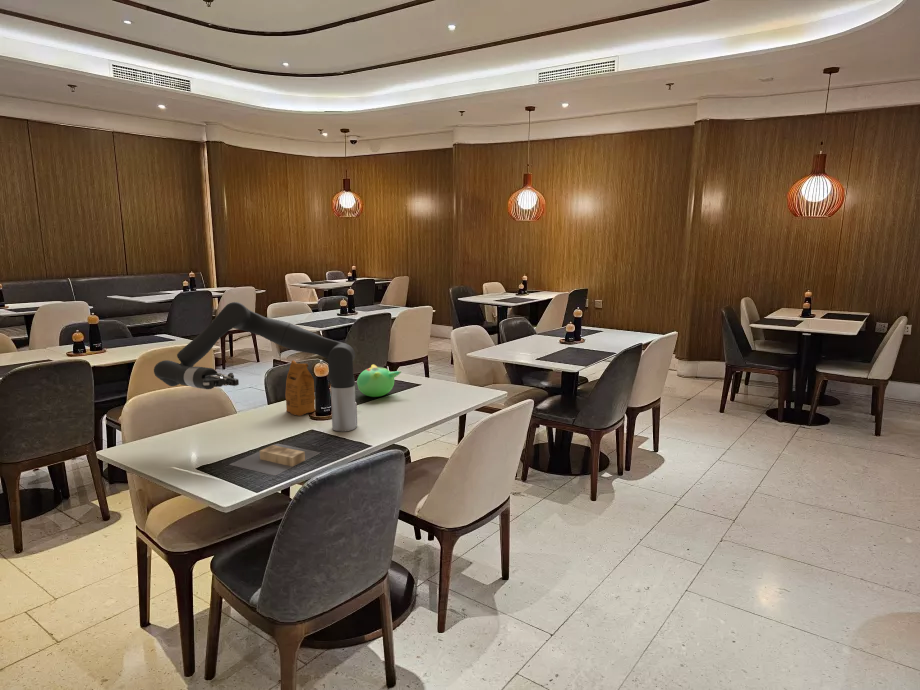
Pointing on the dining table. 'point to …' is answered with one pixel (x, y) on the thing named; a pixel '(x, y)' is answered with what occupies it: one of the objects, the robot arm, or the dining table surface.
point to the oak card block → (282, 455)
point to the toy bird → (376, 381)
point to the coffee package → (299, 390)
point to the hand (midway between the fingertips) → (237, 382)
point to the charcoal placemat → (269, 467)
